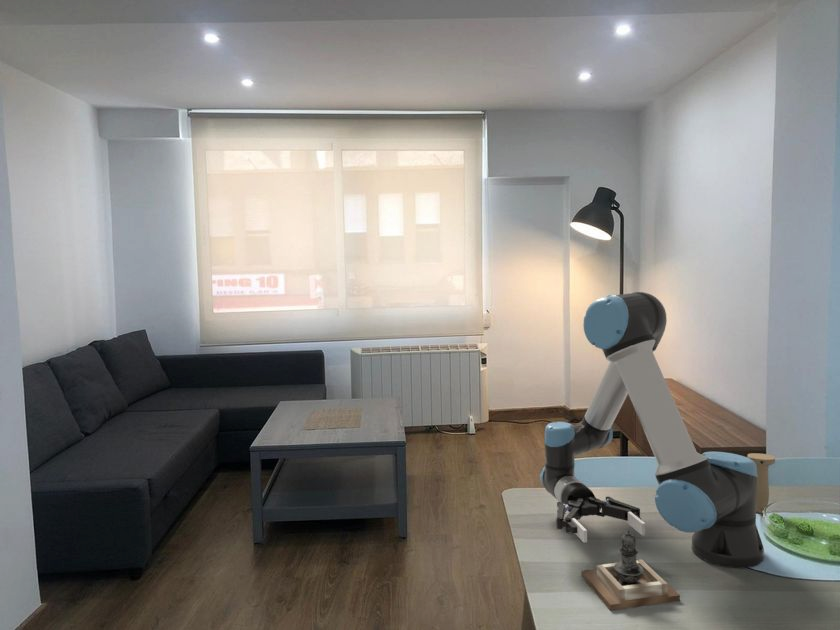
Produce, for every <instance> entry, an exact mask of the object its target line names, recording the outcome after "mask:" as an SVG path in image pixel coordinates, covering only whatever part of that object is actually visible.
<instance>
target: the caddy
mask: <svg viewBox="0 0 840 630" xmlns="http://www.w3.org/2000/svg"><path fill="white" fill-rule="evenodd" d="M636 562H637V564H639V565H640V566H642V568H643V573H642V576H641V578H640V579H639V580H638V581H640V582H641V584H634V585H627V586H622V585H621V584H620V583H619V582H618V581H617V579H619V578H618V576H617V574H616V571H615V569H614V565H615V564H616V563H617V562H613V563H603V564H597V565H596V568H592V569H586V570H585V569H584V570H581V574H580V575H581V577H582V579H583V580H584V581H585V582H586V583H587V584H588V586H589V587H590V588H591V589H592V591H594V593H595V594H596V595H597V596H598V598H599V599H600V601H602V602H603V603H604V605H605V606H606V607H607V608H608V609H609V611H610V612H611V611H616V610H617V611H618V610H624V609H633V608H638V607H646V606H647V607H648V606H652V605H660V604H668V603H674V602H680V601H681V595H680V594H679V593H678V592H677V590H675V589H674V588H673V587H672V586H671V585H669V583H668V582H667V581H666V580H664V578H662V577H661V576H660V575H659V574H658V573H657V572H656V571H655V570H653V568H652V567H651V566H649V565H648V564H647V563H646V562H645V561H644V560H643V559H636Z"/></svg>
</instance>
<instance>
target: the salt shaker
mask: <svg viewBox="0 0 840 630" xmlns="http://www.w3.org/2000/svg"><path fill="white" fill-rule="evenodd" d="M620 540H621V545H620V546H621V547H620V548H619V552H620V555H621V556H620V561H618V562H615V563H616V564H615V565H614V569H615V571H616V574H617V576H618V578H619V579H617V581H618V582H619V583H620V584H621V585H622V586H627V585H634V584H641V582H640V581H638V580H639V579H640V578H641V576H642V573H643V568H642V566H640V565H639V564H637V562H636V560H637V554H638V553H639V552H638V551H639V550H638V549H637V539H636V536H635V535H634V534H632V533H631V531H630V529H627V530H626V532H625V533H623V534H621V539H620Z"/></svg>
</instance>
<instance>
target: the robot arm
mask: <svg viewBox="0 0 840 630" xmlns="http://www.w3.org/2000/svg"><path fill="white" fill-rule="evenodd" d="M583 317H584V318H583V332H584V335H585V338H586V339H587V341H588V342H589V343H590V345H592V346H594V347H596V348H598V349H601V350H602V352H603V355H604V357H605V359H606V360H607V361H608V362H609V364H608V365H607V368H606V370H605V372H604V374H603V377H602V378H601V380H600V382H599V384H598V387H597V388H596V391H595V392H594V395H593V397H592V399H591V401H590V404H589V406H588V408H587V410H586V412H585V414H584V416H583V418H582V420H581V422H580V423H579V424H576V425H573V424H572V423H569V422H566V421H557V422H554V421H553V422H550V423H548V424H546V425H545V429H544V441H543V443H544V463H545V464H544V466H543V468H542V470H541V472H540V474H539V479H540V483H541V485H542V486H543V487H544V490H545V491H546V492H547V493H549V495H551V496H553V498H554V499H556V513H557V516H556V529H557V530H562V529H563V528H565V533H567V534H568V533H569V534H570V533H571V534H575V535H576V536H577V537H578V538H579V539H580V540H581V541H582V543H588V530H587V529H586V528H585V527H584V526H583V525H582V523H580V520H581V518H582V517H587V516H589V517H590V516H597V517H602V518H604V517H610V518H614V519H617V520H618V519H619V520H623V521H627V524H628V525H629V526H630V527H632V529H634V530H635V531H636V532H637V533H638V534H640V535H641V536H646V522H644V521H643V519H642V518H641V508H640V507H636V506H633V505H631V504H628V503H624V502H622V501H620V500H617V499H615V498H612V497H611V496H605V499H603V500H601V499H600V498H597V497H596V496H595V494H594V492H593V491H592V490H591V489H590V488H589V487H588V486H586V484H584V483H583V482H582V481H581V480H580V479H578V478H577V477H576V476H575V457H577V456H579V455H583V454H586V453H588V452H591V451H595V450H598V449H602V448H604V447H605V446H608V445H609V444H610V443H611V442H612V440H613V438H614V437H613V436H614V435H613V433H614V431H613V428H612V426H613V424H614V422H615V420H616V418H617V416H618V414H619V412H620V410H621V408H622V406H623V404H624V403H625V400H626V399H627V397H628V396H629V399H630V401H631V404H632V406H633V408H634V411H635V413H636V415H637V418H638V420H639V422H640V424H641V425H640V426H641V427H642V429H643V432H644V435H645V436H646V440H647V441H648V443H649V446H650V448H651V451H652V453H653V456H654V458H655V460H656V463H657V467H656V470H655V472H654V476H655V479H656V481H657V483H658V487H657V488H656V491H655V495H654V503H655V506H656V509H657V511H658V513H659V515H660V516H661V518H663V520H664V521H665V522H666V523H668V525H670V527H674V528H675V529H677V530H678V531H680V532H683V533H688V534H689V533H693V534H692V537H691V550H692V552H693V554H695V555H696V556H697V557H698V558H700V559H702V560H704V561H706V562H708V563H710V564H714V565H717V566H722V567H727V568H737V569H743V568H752V567H755V566H758V565H760V564H761V563H762V562H763V561H764V559H765V555H764V554H765V548H764V545H763V542H762V539H761V536H760V533H759V530H758V526H757V523H756V521H757V520H756V519H757V512H756V492H757V477H758V475H757V469H756V464H755V462H754V461H753V460H751V459H749V458H747V456H744V455H740V454H736V453H732V452H724V451H705V452H703V453H702V454H701V453H699V452H698V451H697V449H696V447H695V445H694V443H693V440H692V438H691V436H690V434H689V431H688V429H687V427H686V424H685V423H684V420H683V418H682V416H681V413H680V411H679V409H678V407H677V404H676V402H675V399H674V398H673V395H672V393H671V391H670V389H669V386H668V384H667V382H666V379H665V376H664V375H663V372H662V369H661V368H660V366H659V364H658V361H657V359H656V357H655V354H654V352H655V351H656V350H657V348H658V346H659V344H660V342H661V340H662V338H663V336H664V333H665V332H666V331H665V330H666V327H667V322H668V321H667V312H666V309H665V306H664V304H663V303H662V302H661V300H659V299H658V298H657V297H656V296H654V295H653V294H650V293H647V292H644V291H636V292H635V291H634V292H632V293H630V292H629V293H623V294H610V295H607V296H603V297H599V298H598V299H597V298H596V299H595V300H594V301H593V302H591V304H589V306H588V308H587V309H586V311H585V315H584V316H583ZM566 512H568V513H567V515H566ZM565 515H566V516H565ZM578 520H579V521H578Z"/></svg>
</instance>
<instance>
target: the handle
mask: <svg viewBox="0 0 840 630" xmlns="http://www.w3.org/2000/svg"><path fill="white" fill-rule="evenodd" d="M746 457H747V458H749V459H751V460H753V461H754V462H755V464H756V469H757V475H758V477H757V492H756V514H761V513H762V511H763V510H764V508H765V507H767V508H768V505H769V500H770V499H769V498H770V487H769V486H770V483H769V466H772V465H773V464H775V463H776V456H774V455H771V454H768V453H767V454H766V453H759V452H758V453H753V452H751V453H748V454H747V456H746ZM762 514H763V513H762Z"/></svg>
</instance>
